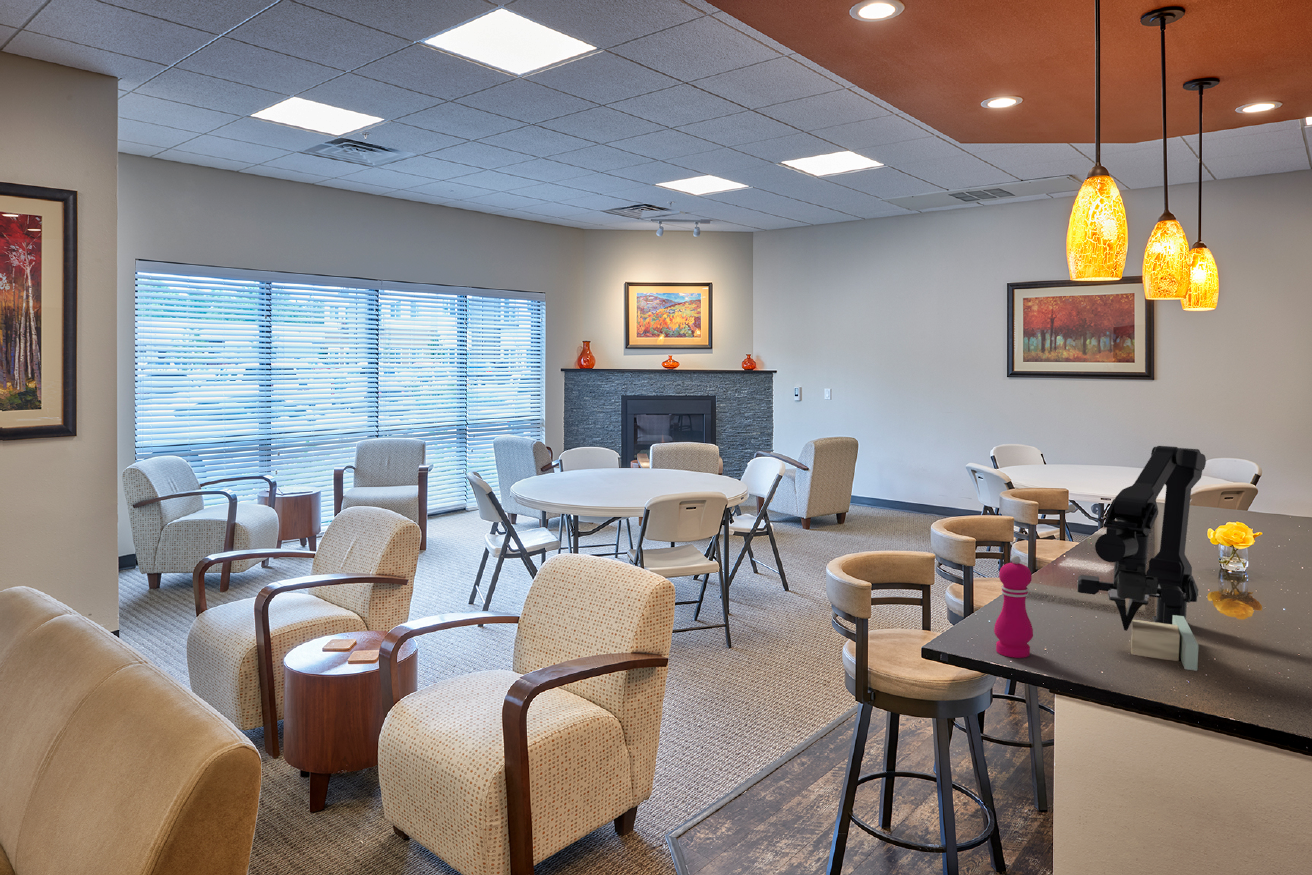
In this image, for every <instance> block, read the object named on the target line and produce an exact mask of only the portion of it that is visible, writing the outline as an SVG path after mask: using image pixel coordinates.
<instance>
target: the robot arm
mask: <svg viewBox="0 0 1312 875" xmlns="http://www.w3.org/2000/svg"><path fill="white" fill-rule="evenodd" d="M1150 454H1151V455H1150V458H1149V459H1148V460H1147V462H1146V464H1145V466H1144V467H1143V469H1142V470H1141V472H1140V474H1139V475H1138V476H1137V478H1136V480H1135V482H1134V483H1133V484H1132V485H1131V486H1128V487H1125V488H1123V489H1122V490H1120V492H1119V493H1118V494H1117V495H1116V496H1115V497H1114V499H1113V500H1112V501H1111V504H1110V506H1109V509H1108V511H1107V514H1106V518H1105V520H1104V522H1103V528H1106V530H1105V532H1106V533H1104V534H1101V535H1100V536H1099V537H1098V538H1097V540H1096V542H1095V544H1094V549H1095V553H1096V555H1097V556H1098V557H1099V558H1100V559H1101V560H1103V561H1105V562H1107V563H1114V567H1113V579H1112V580H1113V582H1110V581H1101V580H1100V577H1099V576H1096V575H1087V574H1080V575H1078V577H1077V585H1076V586H1077V587H1076V588H1077V593H1080V594H1086V595H1096V594H1098V593H1099V592H1100V591H1103V592H1107V597H1108V600H1109V601H1111V602H1112V601H1113V602H1114V603H1115V605H1116V607H1117V610H1118V612H1119V617H1120V619H1121V622H1122V627H1123V630H1124V631H1125V632H1126V631H1127V632H1128V629H1129V628H1130V627H1131V625H1132V620H1134V617H1135V616H1136V613H1138V611H1139V609H1141V608H1142V606H1149V604H1150V601H1148V599H1149V598H1156V612H1155V613H1156V614H1155V615H1152V620H1153V622H1156V623H1164V624H1172V620H1173V615H1177V616H1184V618H1185V620H1186V621H1187V608H1188V603H1196V602H1198V596H1199V588H1198V585H1197V583H1196V581H1195V579H1194V576H1193V575H1192V574H1193V573H1192V572H1193V566H1192V565H1191V563H1190V561H1189V560H1188V558H1187V556H1186V543H1187V533H1188V525H1189V524H1188V522H1189V515H1190V514H1189V513H1190V505H1191V496H1192V489H1193V488H1194V487H1195V485H1197V483H1198V482H1199V481H1200V480H1201V478H1202V477H1203V476H1202V474H1203V471H1204V470H1205V469H1206V468H1205V467H1206V464H1207V463H1206V462H1207V460H1206V455H1205V454H1203V453H1202V452H1201V451H1200V449H1198V448H1187V447H1186V448H1184V447H1178V446H1169V445H1157V446H1153V448H1152V449H1151V453H1150ZM1164 486H1165V497H1164V506H1163V507H1164V508H1163V516H1162V528H1161V533H1160V534H1161V535H1160V544H1159V545H1160V546H1159V551H1158V552H1157V553H1156V554H1155V556H1154V557H1151V558H1150V560H1148V552H1149V551H1148V549H1149V540H1150V539H1149V538H1150V534H1151V533H1152V528H1153V526H1154V525H1155V524H1154V523H1155V521H1156V519H1157V517H1158V515H1159V507H1158V503H1157V499H1158V497H1159V494H1160V493H1161V491H1162V489H1163V488H1164ZM1147 562H1148V563H1147ZM1147 564H1148V565H1147ZM1147 566H1148V568H1147ZM1126 599H1128V604H1127V605H1126V602H1127V601H1126ZM1126 606H1127V607H1126ZM1189 627H1190V625H1189Z"/></svg>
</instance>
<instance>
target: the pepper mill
mask: <svg viewBox="0 0 1312 875" xmlns="http://www.w3.org/2000/svg"><path fill="white" fill-rule="evenodd" d="M1010 561H1011V562H1007V563H1005V564H1003V565H1002V566H1001V567H1000V569H999V572H998V573H999V574H998V577H999V580H1000V582H1001V583H1002V584H1003V585H1002V586H1001V591H1000V593H1001V594H1003V603H1002V608H1001V611H1000V613H999V615H998V617H997V618H996V621H995V624H994V627H993V631H994V635H995V637H996V638H997V639H998V641H996V644H995V650H996V653H997V654H998V655H1002V656H1005V657H1009V658H1014V659H1015V658H1016V659H1017V658H1018V659H1021V658H1027V657H1029V656H1030V654H1031V653H1030V651H1031V646H1030V645H1029V642H1030V641H1032V639H1033V636H1034V628H1033V625H1032V622H1031V620H1030V618H1029V615H1028V613H1027V607H1026V600H1027V597H1028V596H1029V588H1028V586H1029V585H1030V583H1032V580H1033V579H1032V572H1031V570H1030V568H1029V567H1028V566H1026V565H1025V564H1023V563H1021V557H1020V556H1019V555H1012V556H1011V558H1010Z"/></svg>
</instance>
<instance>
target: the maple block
mask: <svg viewBox="0 0 1312 875" xmlns="http://www.w3.org/2000/svg"><path fill="white" fill-rule="evenodd" d="M1179 640H1180V636H1179V631H1178V626H1177V625H1172V624H1164V623H1156V622H1154V621H1146V620H1138V619H1133V620H1132V622H1131V638H1130V645H1131V646H1130V650H1131V655H1134V656H1139V657H1146V658H1154V659H1159V660H1168V661H1173V662H1179V660H1180V657H1179Z"/></svg>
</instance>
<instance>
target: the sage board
mask: <svg viewBox="0 0 1312 875" xmlns="http://www.w3.org/2000/svg"><path fill="white" fill-rule="evenodd" d="M1172 625H1177V626H1178V631H1179V636H1180V640H1179V660H1180V661H1181V664H1182V666H1183V668H1184V670H1189V671H1196V672H1197V671H1198V663H1199V662H1198V660H1199V643H1198V642H1197V639H1196V638H1195V635H1194V633H1193V632H1192V630H1191V628H1190V627H1189V626H1190V625H1189V622H1188V620H1187V619H1186V620H1185V618H1184V616H1177V615H1173V620H1172Z"/></svg>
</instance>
